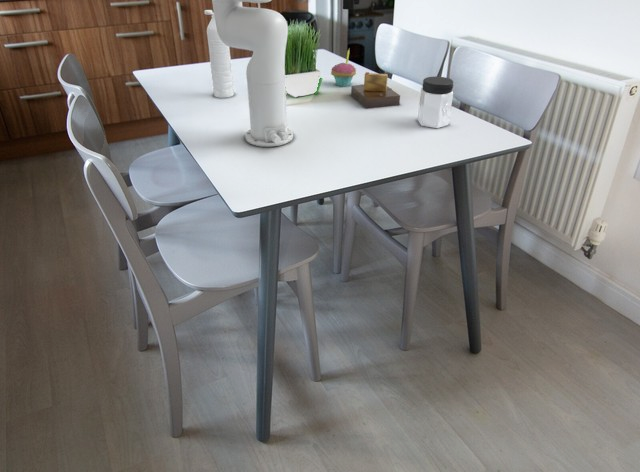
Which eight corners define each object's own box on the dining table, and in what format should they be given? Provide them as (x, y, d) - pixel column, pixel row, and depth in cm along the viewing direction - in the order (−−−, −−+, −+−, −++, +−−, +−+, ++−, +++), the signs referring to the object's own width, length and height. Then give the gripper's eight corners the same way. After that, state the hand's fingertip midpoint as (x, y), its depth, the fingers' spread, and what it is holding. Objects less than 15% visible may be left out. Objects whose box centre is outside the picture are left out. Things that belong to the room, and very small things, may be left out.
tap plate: (399, 105, 156) (400, 95, 154) (366, 108, 153) (366, 98, 151) (382, 91, 167) (383, 82, 165) (350, 94, 164) (351, 85, 163)
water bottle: (237, 95, 164) (230, 12, 150) (220, 99, 160) (211, 15, 146) (223, 89, 169) (215, 9, 155) (206, 93, 166) (196, 11, 152)
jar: (431, 130, 138) (437, 86, 131) (411, 121, 143) (415, 79, 137) (454, 123, 142) (461, 81, 136) (433, 115, 148) (439, 74, 141)
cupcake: (346, 79, 179) (347, 44, 172) (360, 85, 173) (362, 49, 166) (326, 83, 175) (326, 47, 169) (339, 89, 169) (340, 52, 162)
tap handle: (386, 90, 158) (387, 73, 156) (385, 91, 157) (387, 75, 154) (364, 88, 160) (365, 72, 157) (363, 90, 158) (364, 73, 155)
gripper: (361, -57, 135) (358, 12, 144) (371, -61, 149) (367, 2, 158) (334, -58, 136) (333, 10, 145) (346, -61, 150) (344, 2, 159)
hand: (351, 6), depth 152 cm, fingers open, 9 cm apart
